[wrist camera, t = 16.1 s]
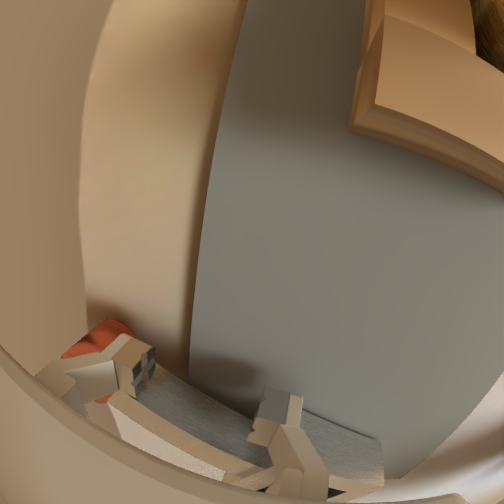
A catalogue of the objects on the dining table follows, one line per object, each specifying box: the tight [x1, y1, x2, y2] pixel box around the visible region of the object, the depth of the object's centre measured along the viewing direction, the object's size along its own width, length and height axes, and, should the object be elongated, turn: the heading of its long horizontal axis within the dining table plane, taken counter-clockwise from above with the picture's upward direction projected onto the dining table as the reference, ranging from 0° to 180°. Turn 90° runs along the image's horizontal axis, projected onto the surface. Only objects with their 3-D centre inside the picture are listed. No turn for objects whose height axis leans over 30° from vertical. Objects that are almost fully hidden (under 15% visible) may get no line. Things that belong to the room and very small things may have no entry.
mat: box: [188, 0, 504, 479], centre depth 9 cm, size 26×16×1 cm, turn 169°
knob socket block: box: [61, 319, 384, 503], centre depth 11 cm, size 16×6×3 cm, turn 59°
